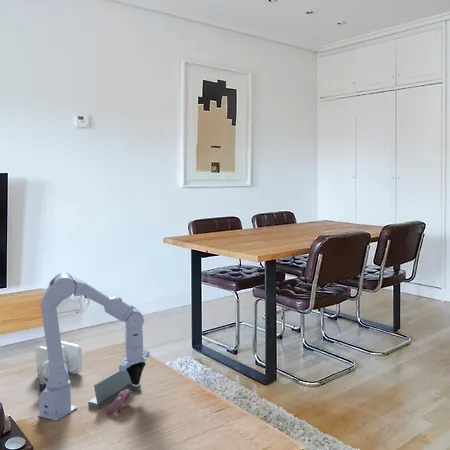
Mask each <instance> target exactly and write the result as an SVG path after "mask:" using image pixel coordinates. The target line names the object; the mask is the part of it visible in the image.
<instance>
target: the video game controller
mask: <svg viewBox="0 0 450 450" xmlns="http://www.w3.org/2000/svg"><path fill="white" fill-rule="evenodd" d="M132 394H133V391H131V390H130V389H128V390H127V389H126V390H123V391H121V392H120V393H119V395H118V397H117V398H116V399H114V400H113V402H112V403H111V404H109V406H107V407H106V410H105V413H106V414H107V415H113V414H115V413H116V412H117V411H118V412H120V411H121V410H122V409H123V408H125V406H126V405H127V402H128V401H129V399H130V398H131V396H132Z"/></svg>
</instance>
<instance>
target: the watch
mask: <svg viewBox="0 0 450 450" xmlns="http://www.w3.org/2000/svg"><path fill="white" fill-rule="evenodd" d="M47 364H49V360H46V361H44V362H43V363H42V364H41V365H40V366H39V368H38V373H37V377H38V380H39V381H40V382H39V393H41V392H43V391H44V390H45V388H46V383H47V382H48V379H46V378H44V377H43V375H42V370H43V368H44V367H45V366H46V365H47Z"/></svg>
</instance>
